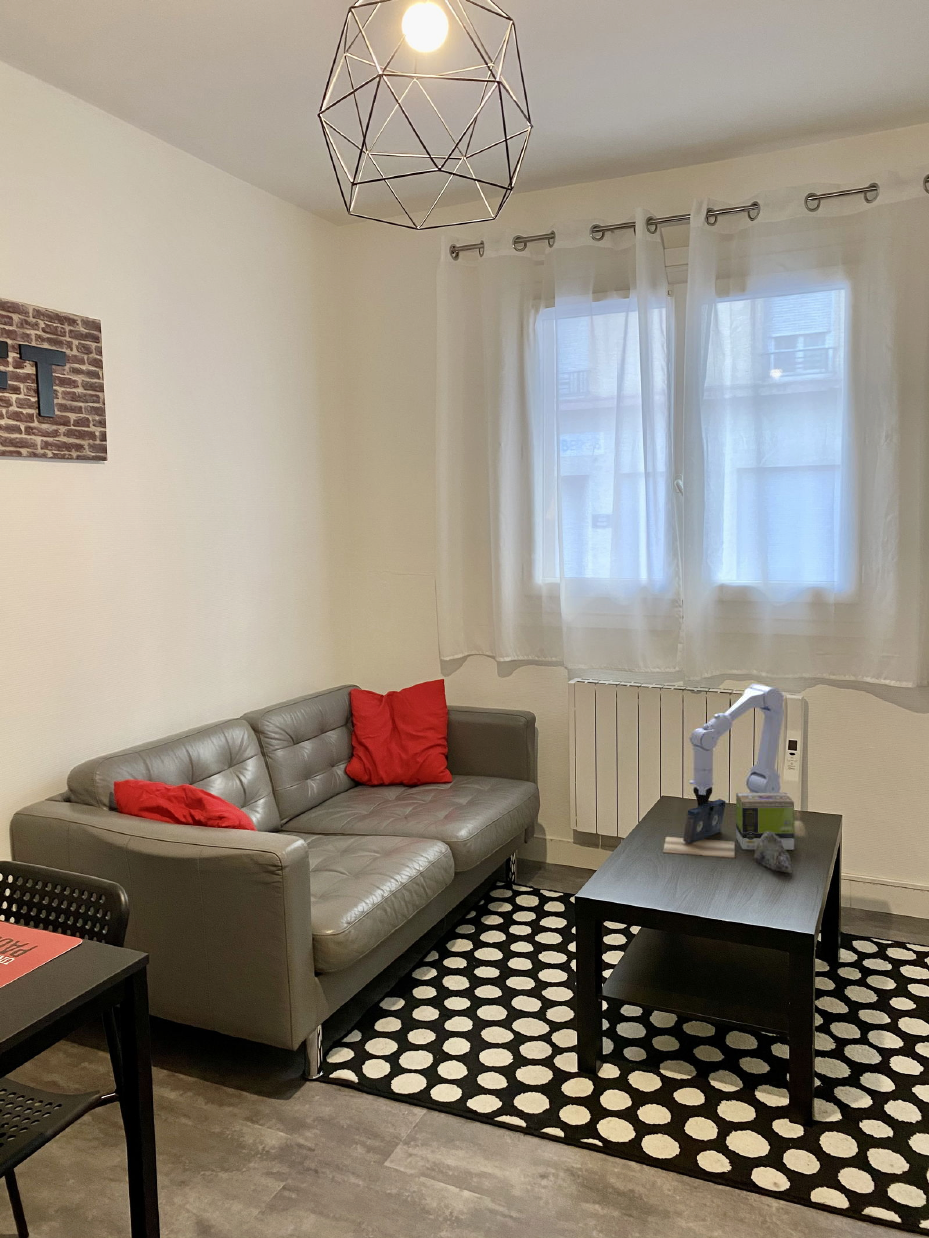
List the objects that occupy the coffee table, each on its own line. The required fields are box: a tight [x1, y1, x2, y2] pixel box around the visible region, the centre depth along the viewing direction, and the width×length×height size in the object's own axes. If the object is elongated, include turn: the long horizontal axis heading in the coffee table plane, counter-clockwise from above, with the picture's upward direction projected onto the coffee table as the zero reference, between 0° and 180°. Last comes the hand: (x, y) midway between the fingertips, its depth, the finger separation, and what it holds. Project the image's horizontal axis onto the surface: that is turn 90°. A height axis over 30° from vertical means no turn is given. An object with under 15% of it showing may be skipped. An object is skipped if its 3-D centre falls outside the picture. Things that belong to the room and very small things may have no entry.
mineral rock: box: [753, 831, 794, 874], centre depth 269 cm, size 13×11×10 cm
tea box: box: [735, 792, 795, 851], centre depth 288 cm, size 15×10×15 cm
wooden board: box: [662, 836, 736, 859], centre depth 287 cm, size 14×20×1 cm
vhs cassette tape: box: [682, 798, 727, 844], centre depth 295 cm, size 18×3×10 cm, turn 135°
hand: (702, 811), depth 299 cm, fingers closed
